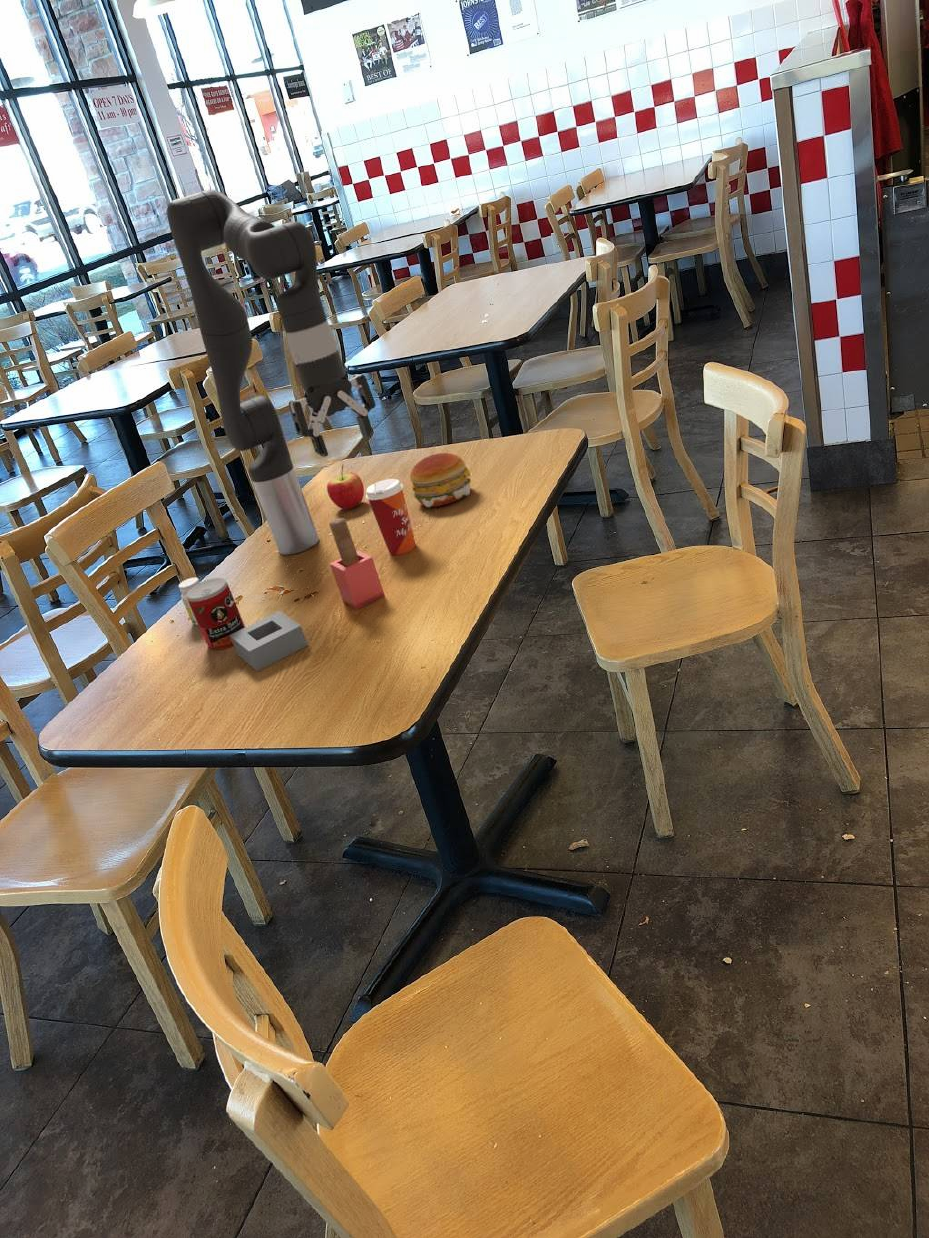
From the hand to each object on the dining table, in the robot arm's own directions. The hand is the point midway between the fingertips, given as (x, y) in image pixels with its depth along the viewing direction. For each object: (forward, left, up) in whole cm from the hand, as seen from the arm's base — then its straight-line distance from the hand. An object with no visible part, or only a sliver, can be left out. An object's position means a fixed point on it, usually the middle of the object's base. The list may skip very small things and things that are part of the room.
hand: (345, 446), depth 170 cm
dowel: (-5, -4, -28) cm, 29 cm away
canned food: (-16, -28, -30) cm, 44 cm away
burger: (-33, +32, -30) cm, 55 cm away
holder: (-3, -24, -29) cm, 38 cm away
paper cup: (-18, +12, -30) cm, 37 cm away
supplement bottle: (-30, -28, -30) cm, 51 cm away
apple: (-54, +18, -30) cm, 64 cm away
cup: (-5, -4, -29) cm, 30 cm away
